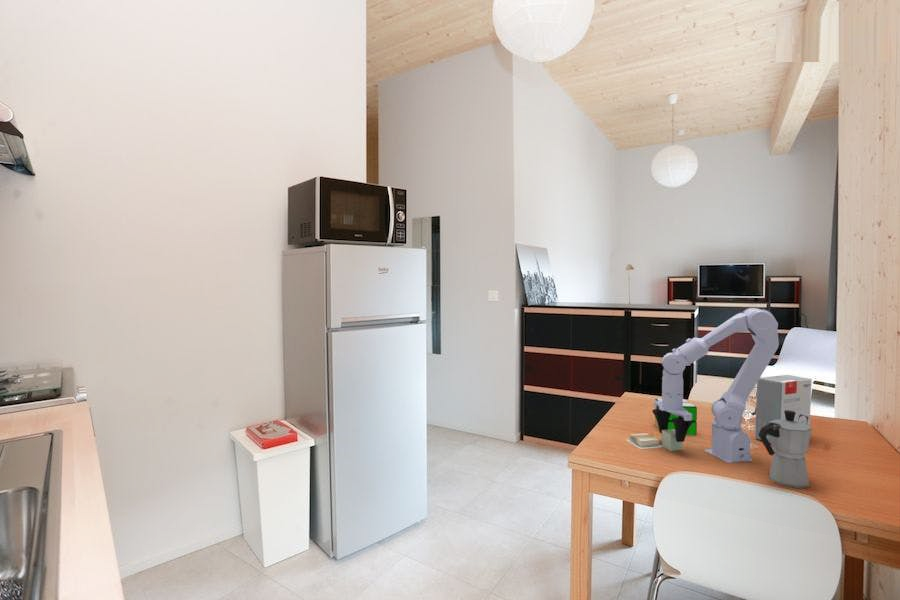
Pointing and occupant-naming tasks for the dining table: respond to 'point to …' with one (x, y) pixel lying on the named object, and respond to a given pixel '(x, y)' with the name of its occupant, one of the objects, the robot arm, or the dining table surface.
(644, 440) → the base block
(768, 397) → the hard drive box
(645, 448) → the building mat
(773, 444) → the coffee maker
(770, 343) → the robot arm
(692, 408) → the puzzle cube
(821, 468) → the dining table surface
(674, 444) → the green block
